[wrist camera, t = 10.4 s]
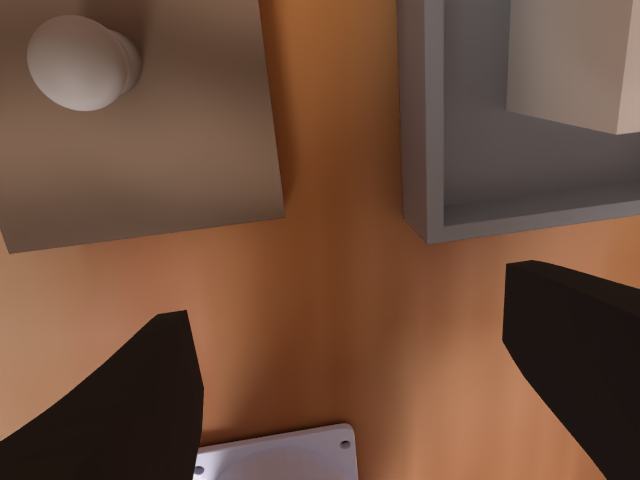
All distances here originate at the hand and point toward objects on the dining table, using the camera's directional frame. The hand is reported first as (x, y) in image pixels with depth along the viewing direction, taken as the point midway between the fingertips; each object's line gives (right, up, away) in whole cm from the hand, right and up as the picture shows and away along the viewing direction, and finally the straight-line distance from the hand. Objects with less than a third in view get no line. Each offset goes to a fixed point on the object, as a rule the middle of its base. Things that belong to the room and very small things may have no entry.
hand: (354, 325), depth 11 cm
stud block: (-8, +8, +6) cm, 13 cm away
